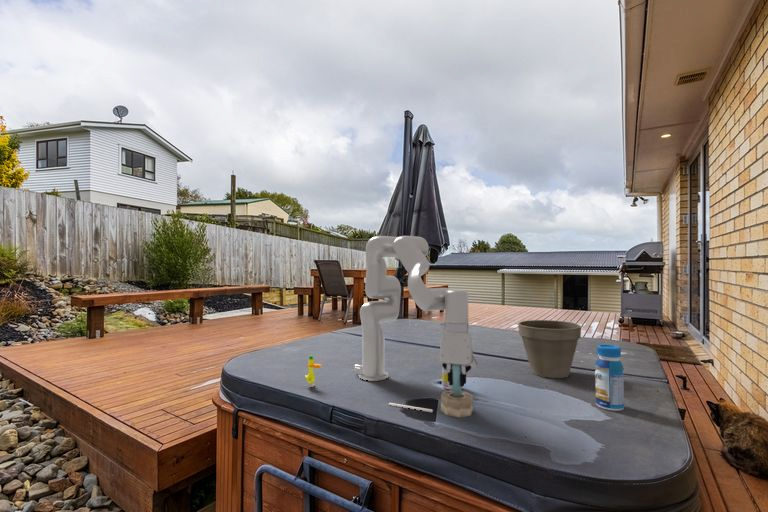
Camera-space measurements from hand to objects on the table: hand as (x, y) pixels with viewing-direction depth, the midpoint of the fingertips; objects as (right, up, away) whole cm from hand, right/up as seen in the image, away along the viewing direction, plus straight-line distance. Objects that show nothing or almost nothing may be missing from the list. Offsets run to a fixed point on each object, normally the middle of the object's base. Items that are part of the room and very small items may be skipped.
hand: (456, 384), depth 119 cm
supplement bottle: (+2, -9, +23) cm, 25 cm away
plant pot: (+48, -10, +41) cm, 64 cm away
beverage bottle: (+52, -9, +4) cm, 53 cm away
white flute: (-15, -9, +2) cm, 17 cm away
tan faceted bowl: (0, -9, 0) cm, 9 cm away
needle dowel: (0, -3, 0) cm, 3 cm away
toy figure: (-51, -9, +23) cm, 57 cm away
